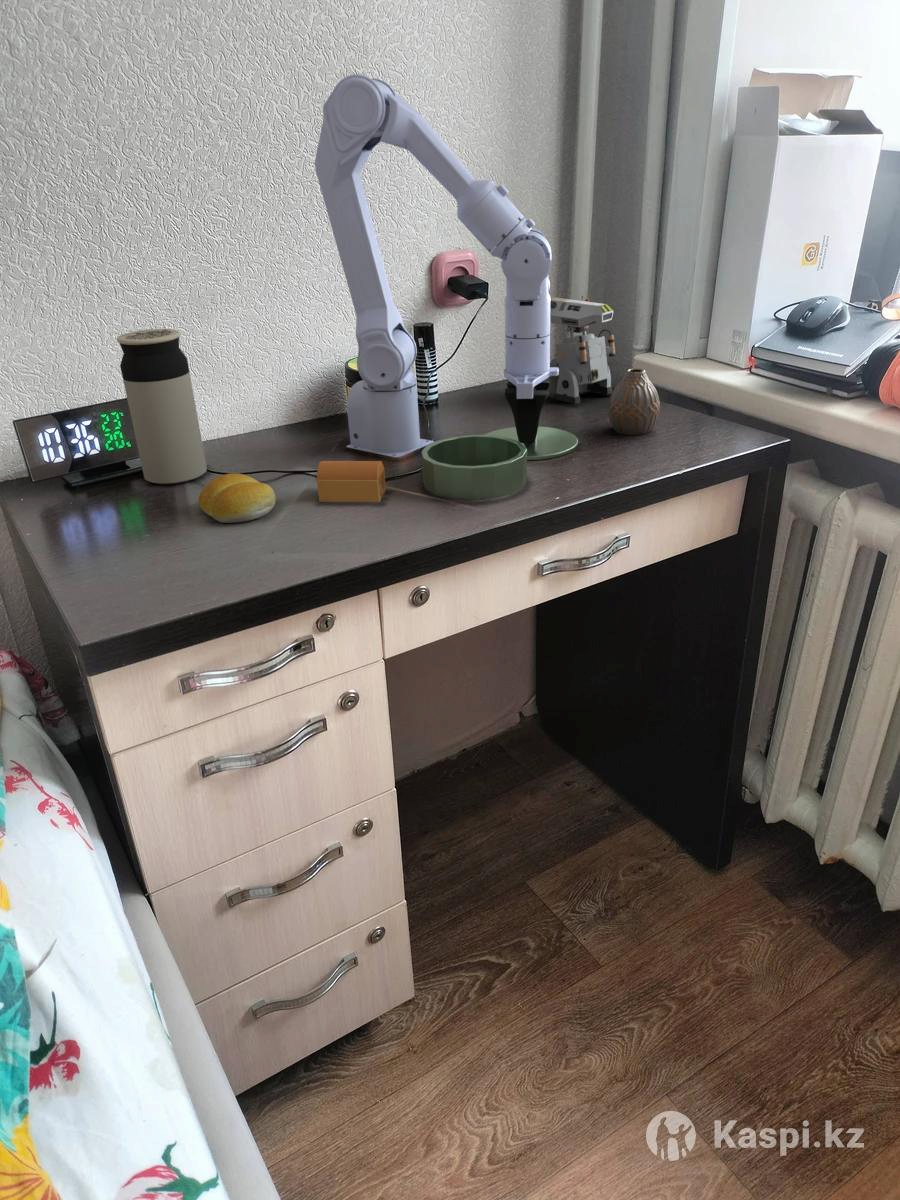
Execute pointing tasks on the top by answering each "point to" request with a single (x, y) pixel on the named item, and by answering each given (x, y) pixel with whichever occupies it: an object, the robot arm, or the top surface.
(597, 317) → the figurine
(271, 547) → the top surface
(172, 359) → the travel mug
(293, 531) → the top surface
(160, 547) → the top surface
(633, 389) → the vase
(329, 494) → the loaf
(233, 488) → the bread roll
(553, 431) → the lid
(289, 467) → the top surface
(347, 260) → the robot arm
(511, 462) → the pot
